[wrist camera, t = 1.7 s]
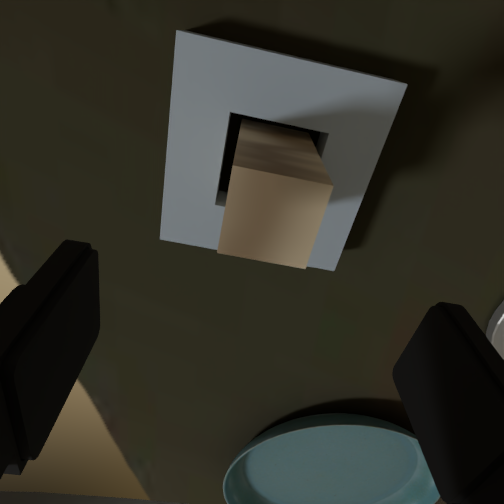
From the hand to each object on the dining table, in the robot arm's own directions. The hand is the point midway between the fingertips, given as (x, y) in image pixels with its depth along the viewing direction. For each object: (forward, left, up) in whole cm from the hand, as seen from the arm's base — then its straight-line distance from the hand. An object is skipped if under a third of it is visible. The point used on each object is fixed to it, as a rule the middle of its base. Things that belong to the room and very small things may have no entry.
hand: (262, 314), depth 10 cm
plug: (-1, 0, -15) cm, 15 cm away
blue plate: (-16, +34, -16) cm, 41 cm away
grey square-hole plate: (-1, 0, -15) cm, 15 cm away
